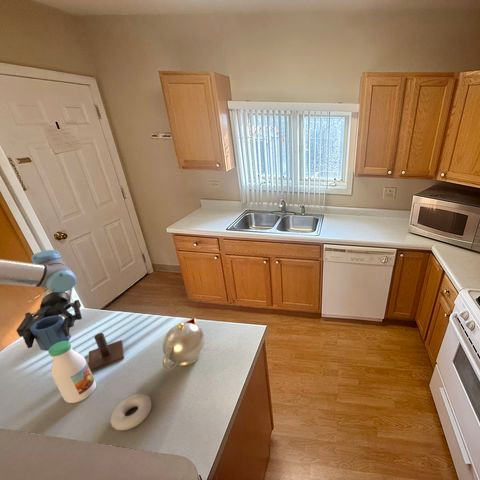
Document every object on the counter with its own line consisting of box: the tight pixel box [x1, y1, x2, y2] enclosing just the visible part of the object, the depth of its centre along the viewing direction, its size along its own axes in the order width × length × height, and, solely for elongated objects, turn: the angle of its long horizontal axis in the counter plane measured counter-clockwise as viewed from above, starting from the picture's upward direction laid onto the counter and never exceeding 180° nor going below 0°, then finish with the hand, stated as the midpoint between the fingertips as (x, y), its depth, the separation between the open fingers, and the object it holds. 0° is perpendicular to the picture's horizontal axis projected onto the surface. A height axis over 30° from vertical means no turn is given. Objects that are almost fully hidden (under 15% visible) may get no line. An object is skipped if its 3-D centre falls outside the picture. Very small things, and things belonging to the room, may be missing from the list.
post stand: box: [87, 332, 125, 372], centre depth 93 cm, size 10×10×10 cm
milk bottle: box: [47, 340, 97, 404], centre depth 78 cm, size 8×8×20 cm
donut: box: [110, 393, 152, 432], centre depth 76 cm, size 10×4×10 cm
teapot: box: [162, 317, 206, 372], centre depth 91 cm, size 18×14×16 cm
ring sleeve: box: [30, 315, 72, 352], centre depth 82 cm, size 7×7×8 cm
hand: (47, 338), depth 78 cm, fingers closed on ring sleeve, 7 cm apart
